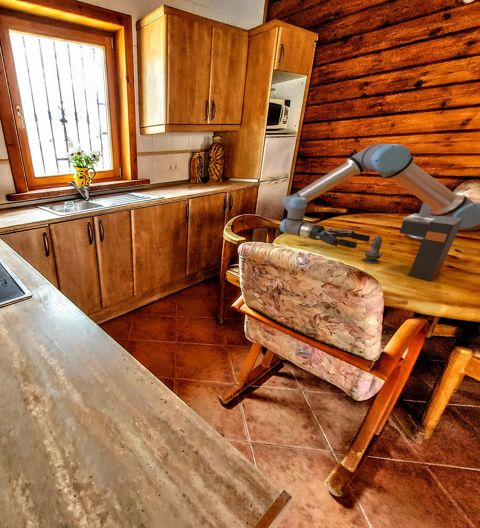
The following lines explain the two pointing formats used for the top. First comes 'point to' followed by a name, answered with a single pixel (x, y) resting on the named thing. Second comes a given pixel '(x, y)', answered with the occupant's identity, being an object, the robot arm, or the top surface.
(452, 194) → the robot arm
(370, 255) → the dark grey chess piece
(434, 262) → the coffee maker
